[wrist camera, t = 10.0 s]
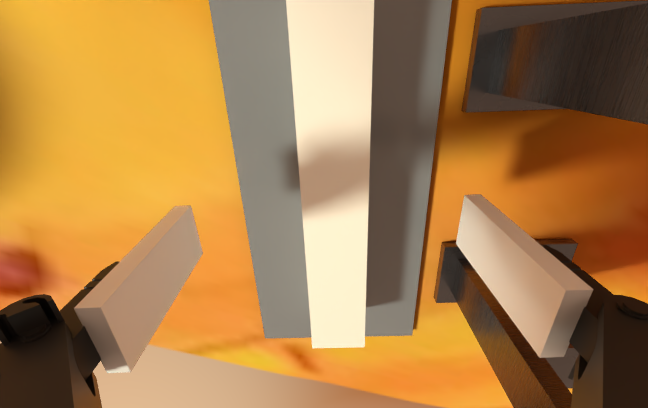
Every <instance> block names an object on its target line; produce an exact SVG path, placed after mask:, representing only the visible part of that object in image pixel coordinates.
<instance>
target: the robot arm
mask: <svg viewBox="0 0 648 408" xmlns="http://www.w3.org/2000/svg"><path fill="white" fill-rule="evenodd" d="M456 245H457V246H458V247H459V249H460V250H461V251H462V253H463V254H464V255H465V257H466V258H467V260H468V261H469V262H470V264H471V265H472V266H473V268H474V269H475V270H476V272H477V273H478V275H479V276H480V277H481V279H482V280H483V281H484V283H485V284H486V285H487V287H488V288H489V290H490V291H491V292H492V294H493V295H494V296H495V298H496V299H497V300H498V302H499V303H500V305H501V306H502V307H503V309H504V310H505V311H506V313H507V314H508V315H509V317H510V318H511V319H512V321H513V322H514V324H515V325H516V326H517V328H518V329H519V330H520V332H521V333H522V334H523V336H524V337H525V339H526V340H527V341H528V343H529V344H530V345H531V347H532V348H533V349H534V351H535V352H536V354H537V355H538V356H539V358H548V357H564V355H565V353H566V351H567V348H568V346H569V344H571V345H572V346H573V347H574V348H575V349H576V350H577V352H578V353H579V355H578V357H577V359H576V361H575V364H574V366H573V368H572V370H571V372H570V374H569V376H568V378H569V379H571V380H572V379H573V378H574V381H573V391H572V401H571V408H648V304H647V303H645V302H642V301H640V300H637V299H635V298H631V297H627V296H623V295H613V294H612V293H611V292H610V291H608V290H607V289H606V288H605V287H603V286H602V285H601V284H600V283H598V282H597V281H596V280H595V279H593V278H592V277H591V276H590V275H588V274H587V273H586V272H585V271H583V270H581V268H580V267H578V266H577V265H576V264H575V263H572V261H571V260H570V259H568V258H567V257H566V256H565V255H563V254H562V253H561V252H559V251H557V250H555V249H553V248H551V247H549V246H547V245H540V244H539V243H538V242H536V241H535V240H534V239H533V238H532V237H531V236H529V235H528V234H527V233H526V232H525V231H523V230H522V229H521V228H520V227H519V226H518V225H516V224H515V223H514V222H513V221H512V220H510V219H509V218H508V217H507V216H506V215H504V214H503V213H502V212H501V211H500V210H499V209H497V208H496V207H495V206H494V205H493V204H491V203H490V202H489V201H488V200H487V199H485V198H484V197H483V196H482V195H481V194H478V195H464V201H463V207H462V212H461V218H460V224H459V229H458V235H457V241H456ZM202 254H203V252H202V248H201V244H200V240H199V236H198V232H197V228H196V224H195V220H194V216H193V212H192V208H191V206H175V207H174V208H173V209H172V210H171V211H170V212H169V213H168V214H167V215H166V216H165V217H164V218H163V219H162V220H161V221H160V222H159V223H158V224H157V225H156V226H155V227H154V228H153V229H152V230H151V231H150V232H149V233H148V234H147V235H146V236H145V237H144V238H143V239H142V240H141V241H140V242H139V243H138V244H137V245H136V246H135V247H134V248H133V249H132V250H131V251H130V252H129V253H128V254H127V255H126V256H125V257H124V258H123V259H122V260H121V261H120V262H115V263H113V264H111V265H110V266H108V267H106V268H105V269H103V270H102V271H101V272H100V273H99V274H98V275H97V276H96V277H95V278H93V279H92V282H89V283H88V284H87V285H86V286H85V287H84V290H81V291H80V292H79V293H78V294H77V295H76V296H75V297H74V298H73V299H72V300H71V301H70V302H69V303H68V304H67V305H66V306H64V307H63V308H62V309H61V310H60V311H59V310H58V308H57V306H56V304H55V302H54V300H53V299H52V297H51V296H49V295H45V294H43V295H34V296H31V297H27V298H24V299H21V300H19V301H17V302H15V303H12V304H10V305H9V306H7V307H5V308H4V309H2V310H1V311H0V341H1V342H2V343H1V344H0V408H102V405H101V400H100V395H99V389H98V384H97V379H96V377H95V375H94V373H93V370H94V369H95V367H96V366H97V365H98V363H99V362H100V361H101V362H102V364H103V366H104V368H105V370H106V371H107V373H115V372H117V373H118V372H131V371H132V369H133V368H134V366H135V364H136V363H137V361H138V359H139V358H140V356H141V354H142V353H143V351H144V350H145V348H146V346H147V345H148V343H149V341H150V340H151V338H152V336H153V335H154V333H155V331H156V330H157V328H158V326H159V325H160V323H161V321H162V320H163V318H164V317H165V315H166V313H167V312H168V310H169V308H170V307H171V305H172V303H173V302H174V300H175V298H176V297H177V295H178V293H179V292H180V290H181V288H182V287H183V285H184V284H185V282H186V280H187V279H188V277H189V275H190V274H191V272H192V270H193V269H194V267H195V265H196V264H197V262H198V260H199V259H200V257H201V255H202Z"/></svg>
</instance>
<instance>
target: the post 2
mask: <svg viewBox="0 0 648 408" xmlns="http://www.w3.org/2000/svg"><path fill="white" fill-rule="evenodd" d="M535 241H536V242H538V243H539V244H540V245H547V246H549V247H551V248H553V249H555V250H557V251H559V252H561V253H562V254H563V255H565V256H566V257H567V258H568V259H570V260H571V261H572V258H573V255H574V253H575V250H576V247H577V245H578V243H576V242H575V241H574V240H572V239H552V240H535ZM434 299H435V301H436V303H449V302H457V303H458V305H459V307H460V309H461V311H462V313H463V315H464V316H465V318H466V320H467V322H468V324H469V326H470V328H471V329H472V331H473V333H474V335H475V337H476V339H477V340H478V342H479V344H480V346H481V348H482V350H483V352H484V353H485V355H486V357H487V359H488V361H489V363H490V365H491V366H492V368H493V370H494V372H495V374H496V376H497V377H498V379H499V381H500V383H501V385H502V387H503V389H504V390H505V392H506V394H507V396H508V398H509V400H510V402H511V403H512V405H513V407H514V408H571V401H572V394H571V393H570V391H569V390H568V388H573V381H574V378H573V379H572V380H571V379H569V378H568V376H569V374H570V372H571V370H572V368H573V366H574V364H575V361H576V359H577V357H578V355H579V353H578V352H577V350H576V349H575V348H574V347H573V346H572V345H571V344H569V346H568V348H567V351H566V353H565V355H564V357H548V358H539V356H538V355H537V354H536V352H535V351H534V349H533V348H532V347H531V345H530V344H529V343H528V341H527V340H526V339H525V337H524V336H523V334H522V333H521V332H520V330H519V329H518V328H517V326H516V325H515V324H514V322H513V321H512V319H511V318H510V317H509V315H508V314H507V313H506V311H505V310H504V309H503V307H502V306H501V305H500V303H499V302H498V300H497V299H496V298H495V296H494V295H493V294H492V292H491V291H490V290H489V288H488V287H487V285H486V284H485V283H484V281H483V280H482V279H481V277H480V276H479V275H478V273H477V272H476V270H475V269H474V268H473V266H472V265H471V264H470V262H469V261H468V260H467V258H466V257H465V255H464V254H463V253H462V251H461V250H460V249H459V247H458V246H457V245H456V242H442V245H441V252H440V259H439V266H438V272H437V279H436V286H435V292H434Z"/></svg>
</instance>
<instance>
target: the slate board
mask: <svg viewBox="0 0 648 408" xmlns="http://www.w3.org/2000/svg"><path fill="white" fill-rule="evenodd" d="M209 4H210V10H211V16H212V22H213V28H214V34H215V40H216V46H217V52H218V58H219V64H220V70H221V76H222V82H223V88H224V94H225V100H226V106H227V112H228V118H229V124H230V130H231V136H232V142H233V148H234V154H235V160H236V166H237V172H238V178H239V184H240V190H241V196H242V202H243V208H244V214H245V220H246V226H247V232H248V238H249V244H250V250H251V256H252V262H253V268H254V274H255V280H256V286H257V292H258V298H259V304H260V310H261V316H262V322H263V328H264V334H265V338H306V337H312V336H311V323H310V310H309V297H308V284H307V271H306V257H305V244H304V231H303V218H302V205H301V191H300V178H299V165H298V152H297V139H296V126H295V112H294V99H293V86H292V73H291V60H290V47H289V33H288V20H287V7H286V0H209ZM451 4H452V0H374V25H373V61H372V97H371V133H370V169H369V205H368V241H367V277H366V314H365V336H405V335H412V332H413V324H414V315H415V307H416V298H417V290H418V282H419V273H420V265H421V256H422V248H423V240H424V231H425V223H426V214H427V206H428V197H429V189H430V181H431V172H432V164H433V155H434V147H435V139H436V130H437V122H438V113H439V105H440V96H441V88H442V80H443V71H444V63H445V54H446V46H447V38H448V29H449V21H450V12H451Z"/></svg>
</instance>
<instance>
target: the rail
mask: <svg viewBox="0 0 648 408" xmlns="http://www.w3.org/2000/svg"><path fill="white" fill-rule="evenodd" d="M286 7H287V20H288V33H289V47H290V60H291V73H292V86H293V99H294V112H295V126H296V139H297V152H298V165H299V178H300V191H301V205H302V218H303V231H304V244H305V257H306V271H307V284H308V297H309V310H310V323H311V336H312V348H345V347H365V314H366V277H367V241H368V205H369V169H370V133H371V97H372V61H373V25H374V0H286Z"/></svg>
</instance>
